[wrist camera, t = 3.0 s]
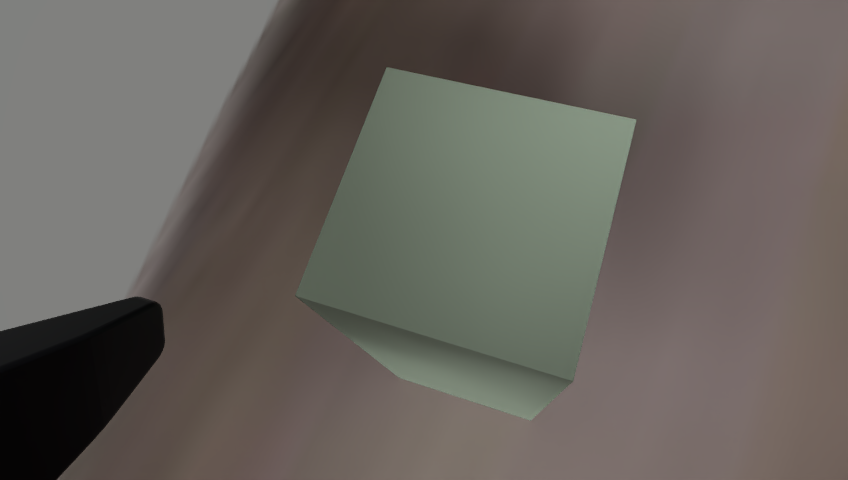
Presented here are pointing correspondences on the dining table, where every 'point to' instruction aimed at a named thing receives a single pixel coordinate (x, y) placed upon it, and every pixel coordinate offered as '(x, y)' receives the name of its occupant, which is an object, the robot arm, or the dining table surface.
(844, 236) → the dining table surface
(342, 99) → the dining table surface
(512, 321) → the sage green block
